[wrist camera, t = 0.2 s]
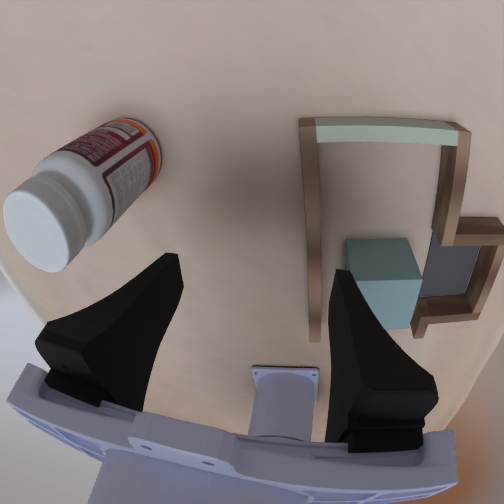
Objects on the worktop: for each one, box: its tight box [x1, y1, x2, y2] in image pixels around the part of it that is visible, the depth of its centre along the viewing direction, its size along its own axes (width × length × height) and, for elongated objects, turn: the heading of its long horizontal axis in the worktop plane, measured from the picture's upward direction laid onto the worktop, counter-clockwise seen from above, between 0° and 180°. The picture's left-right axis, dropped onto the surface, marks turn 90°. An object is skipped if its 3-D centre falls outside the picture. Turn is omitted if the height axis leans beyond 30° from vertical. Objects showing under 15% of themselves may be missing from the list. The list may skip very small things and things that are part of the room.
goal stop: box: [315, 117, 458, 146], centre depth 17 cm, size 1×9×2 cm, turn 98°
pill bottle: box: [3, 118, 161, 273], centre depth 18 cm, size 6×6×11 cm
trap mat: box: [418, 232, 480, 296], centre depth 23 cm, size 7×5×1 cm
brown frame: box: [299, 118, 504, 342], centre depth 21 cm, size 19×16×2 cm
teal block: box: [345, 238, 423, 329], centre depth 23 cm, size 5×5×5 cm
